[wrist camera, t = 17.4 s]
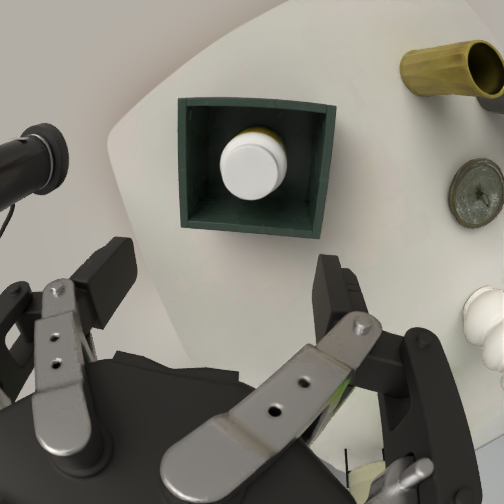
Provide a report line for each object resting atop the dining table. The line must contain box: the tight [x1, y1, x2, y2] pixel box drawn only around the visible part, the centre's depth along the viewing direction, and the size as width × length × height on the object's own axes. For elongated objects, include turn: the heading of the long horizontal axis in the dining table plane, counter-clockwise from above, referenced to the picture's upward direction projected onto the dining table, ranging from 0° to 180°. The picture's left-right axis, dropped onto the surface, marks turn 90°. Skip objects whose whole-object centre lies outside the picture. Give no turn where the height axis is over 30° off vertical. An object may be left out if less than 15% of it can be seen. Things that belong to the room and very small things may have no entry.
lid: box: [448, 158, 504, 228], centre depth 31 cm, size 10×10×5 cm
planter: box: [345, 448, 385, 504], centre depth 59 cm, size 15×16×23 cm
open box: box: [178, 97, 336, 239], centre depth 30 cm, size 14×13×10 cm
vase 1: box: [400, 40, 504, 99], centre depth 20 cm, size 6×6×14 cm
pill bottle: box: [220, 125, 287, 200], centre depth 28 cm, size 6×6×11 cm
